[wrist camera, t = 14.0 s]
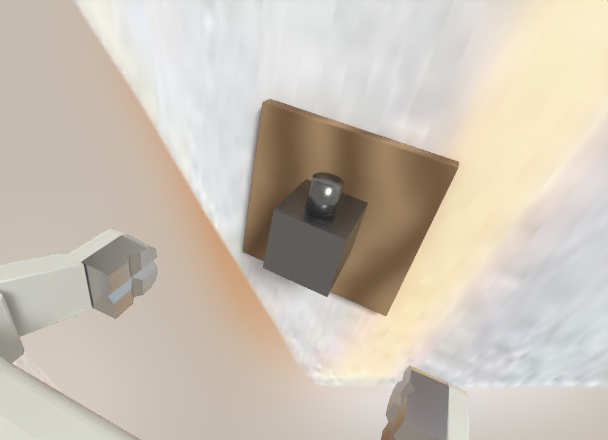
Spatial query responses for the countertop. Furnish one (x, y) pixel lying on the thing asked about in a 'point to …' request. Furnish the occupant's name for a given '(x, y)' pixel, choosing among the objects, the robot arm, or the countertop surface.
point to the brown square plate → (357, 183)
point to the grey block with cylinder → (314, 233)
